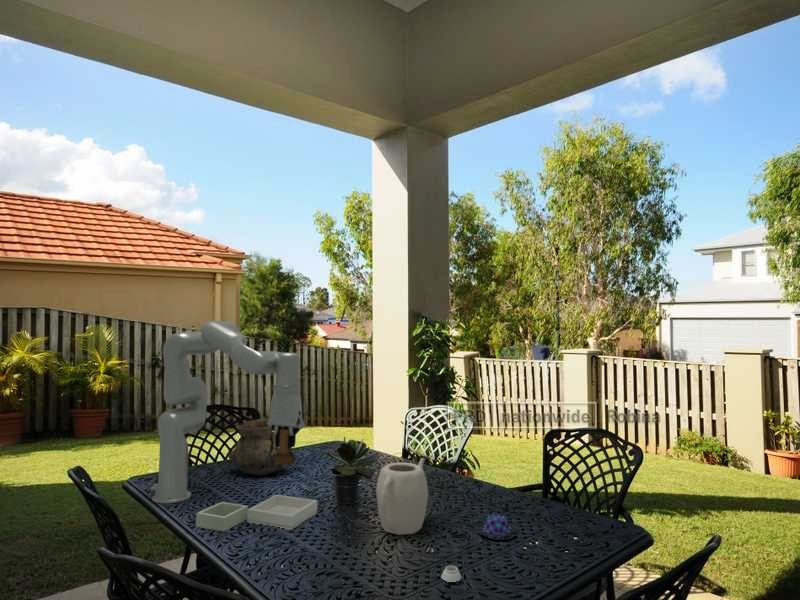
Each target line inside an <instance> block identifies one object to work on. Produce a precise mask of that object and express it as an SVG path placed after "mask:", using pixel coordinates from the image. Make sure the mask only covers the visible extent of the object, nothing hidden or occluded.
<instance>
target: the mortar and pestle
mask: <svg viewBox="0 0 800 600" xmlns="http://www.w3.org/2000/svg"><path fill="white" fill-rule="evenodd" d="M289 435H290V432H289V426H283V427H281V428H280V433H279V447H278V448H279V453H277V454H276V455H275V459H274V463H275V464H278V465H284V466H288V465H293V464H294V463H295V462H296V455H295V454H294V453H293V452H292V448H288V436H289Z"/></svg>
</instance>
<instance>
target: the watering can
mask: <svg viewBox="0 0 800 600" xmlns="http://www.w3.org/2000/svg"><path fill="white" fill-rule="evenodd" d="M425 459H426V458H423V457H421V458H420V459H419V462H418V464H415V463H412V462H392V463H388V464H385V466H383V467H382V468H381V469H380V471H379V474H378V476H377V477H378V478H377V483H376V489H375V490H376V491H375V493H376V503H377V511H378V516H379V520H380V524H381V527H382V528H383V530H384V531H385V532H386V533H390V534H394V535H397V536H401V535H414V534H415V533H417V532H418V531H420V530H421V529H422V528H423V524H424V522H425V521H424V520H425V519H426V518H425V517H426V512H427V507H428V506H427V505H428V499H429V497H428V496H429V488H428V480H427V477H426V475H425V474H426V473H425V472H424V469H423V468H424V463H425Z"/></svg>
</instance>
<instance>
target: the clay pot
mask: <svg viewBox="0 0 800 600" xmlns="http://www.w3.org/2000/svg"><path fill="white" fill-rule="evenodd" d="M268 420H269V418H265V417H264V418H259V419H258V418H257V419H253V420H247V421H244V422H243V425H242V424H241V425H240V424H237V426H236V430H237V431H238V432H239V434H240V437H239V438H238V440H237V442H236V444H235V447H234V449H233V450H230V451H229V452H228V455H227V458H228V459H229V460H231V461H233V462H234V463H235V464H236V466H237V467H238V469H239V470H240V471H242V472H243V473H245V474H247V475H251V474H252V476H266V475H270V474H272V473H274V472H278V471H279V470H281V469H282V468H283V467H284V466H285V465H278V464H275V463H274V459H275V455H276V454H277V453H279V446H278V447H276V443H275V435H276V434H274V431H273V430H272V428H271V427H270V426H269V425H268V426H266V427H265V425H266V424H267V422H268Z"/></svg>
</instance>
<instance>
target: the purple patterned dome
mask: <svg viewBox="0 0 800 600" xmlns="http://www.w3.org/2000/svg"><path fill="white" fill-rule="evenodd" d="M484 526H485V528H484V531H485V532H488V533H489V534H496V535H502V534H508V532H510V530H509V528H510V526H509V522H508V520H507V518H506V517H505V516H504V515H501V514H495V513H493V514H489V515H487V517H486V521H485V525H484ZM484 531H483V532H484Z"/></svg>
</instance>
